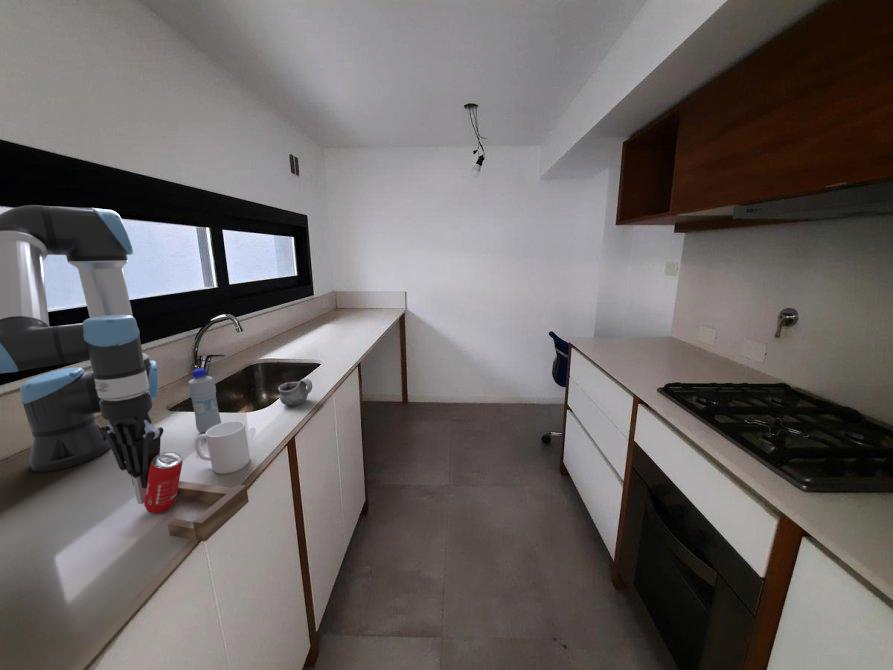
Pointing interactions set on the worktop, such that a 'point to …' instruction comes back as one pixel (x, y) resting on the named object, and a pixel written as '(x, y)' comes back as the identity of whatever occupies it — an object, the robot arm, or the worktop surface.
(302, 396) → the mug
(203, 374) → the bottle
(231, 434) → the cup
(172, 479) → the beverage can
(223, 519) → the hook tool
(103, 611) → the worktop surface
